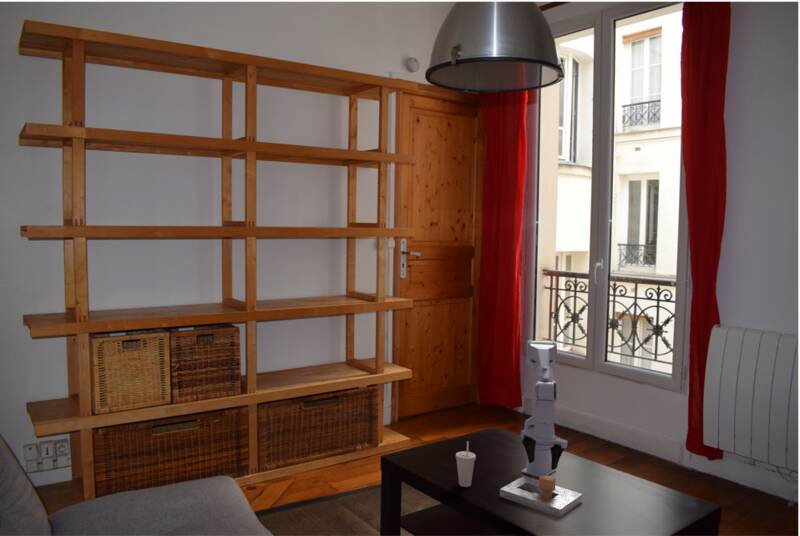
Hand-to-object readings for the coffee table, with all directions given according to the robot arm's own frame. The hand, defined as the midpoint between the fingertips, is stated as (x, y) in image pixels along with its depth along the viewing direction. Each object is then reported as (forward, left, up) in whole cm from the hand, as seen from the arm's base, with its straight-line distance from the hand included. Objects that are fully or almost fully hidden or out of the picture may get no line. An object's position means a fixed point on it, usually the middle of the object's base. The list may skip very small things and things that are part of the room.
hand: (542, 465), depth 193 cm
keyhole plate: (+1, 0, -10) cm, 10 cm away
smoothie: (+8, -23, -11) cm, 26 cm away
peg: (+1, +2, -10) cm, 11 cm away
